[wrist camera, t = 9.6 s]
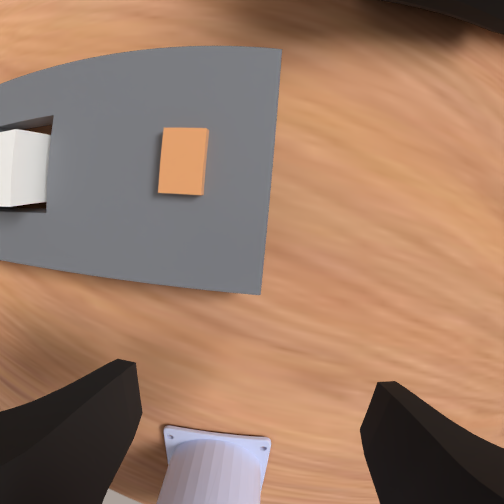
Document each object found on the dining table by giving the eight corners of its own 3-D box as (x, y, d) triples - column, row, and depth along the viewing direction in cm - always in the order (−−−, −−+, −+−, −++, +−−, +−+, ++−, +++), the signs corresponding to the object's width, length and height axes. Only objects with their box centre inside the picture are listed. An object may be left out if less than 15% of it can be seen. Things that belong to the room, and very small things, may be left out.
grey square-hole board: (260, 279, 17) (260, 299, 14) (-14, 246, 17) (-40, 254, 14) (279, 67, 15) (282, 43, 12) (-6, 99, 15) (-31, 93, 12)
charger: (62, 200, 17) (5, 207, 11) (22, 199, 17) (-32, 206, 11) (66, 138, 16) (11, 128, 10) (26, 142, 16) (-28, 137, 10)
